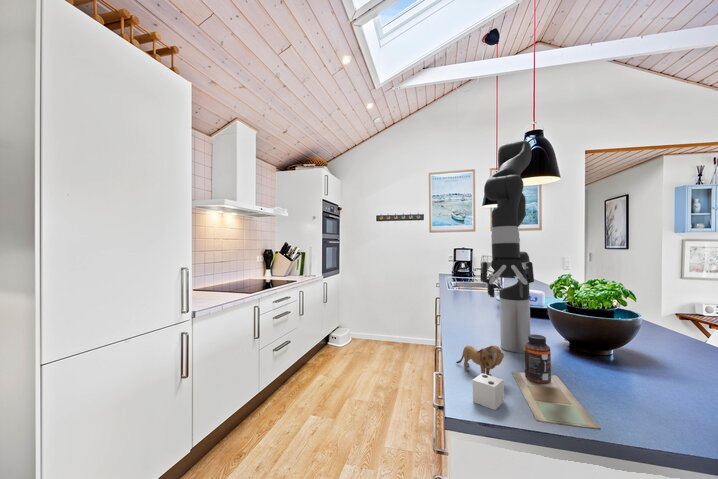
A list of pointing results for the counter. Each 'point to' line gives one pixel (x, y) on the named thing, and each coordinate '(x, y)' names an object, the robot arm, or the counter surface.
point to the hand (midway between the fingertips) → (507, 297)
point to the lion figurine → (482, 357)
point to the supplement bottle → (537, 359)
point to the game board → (553, 402)
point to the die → (488, 391)
